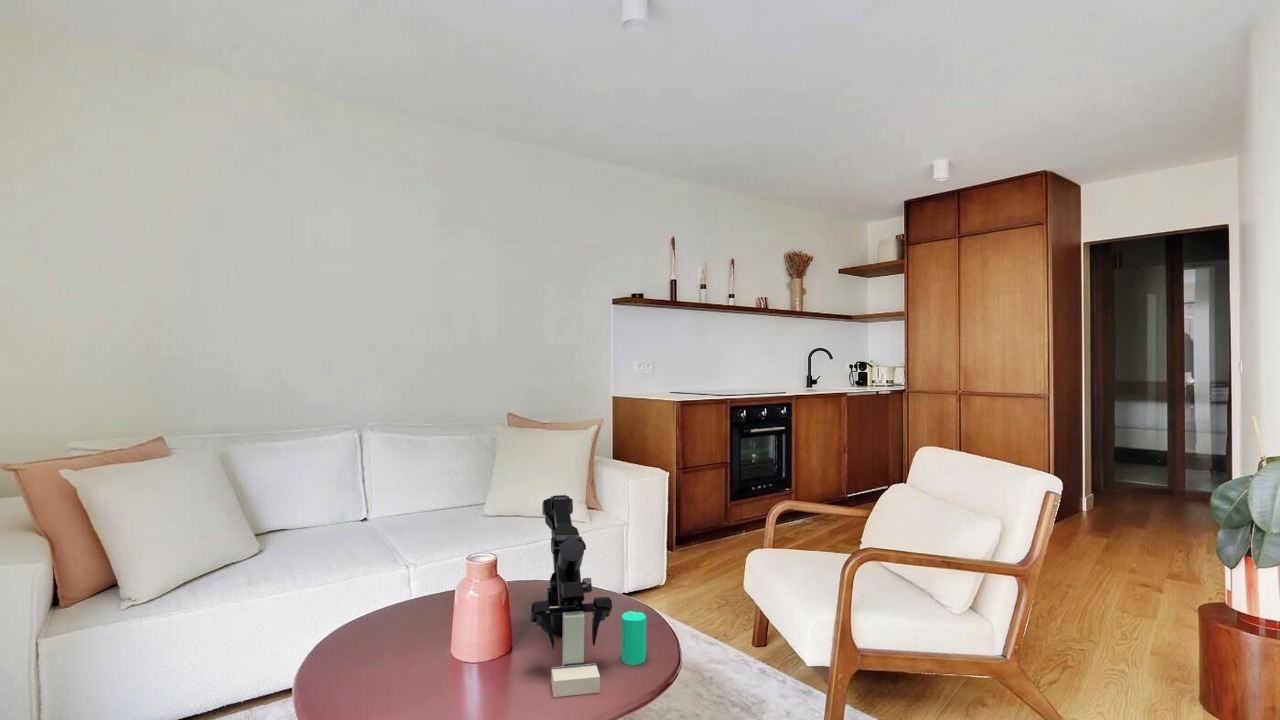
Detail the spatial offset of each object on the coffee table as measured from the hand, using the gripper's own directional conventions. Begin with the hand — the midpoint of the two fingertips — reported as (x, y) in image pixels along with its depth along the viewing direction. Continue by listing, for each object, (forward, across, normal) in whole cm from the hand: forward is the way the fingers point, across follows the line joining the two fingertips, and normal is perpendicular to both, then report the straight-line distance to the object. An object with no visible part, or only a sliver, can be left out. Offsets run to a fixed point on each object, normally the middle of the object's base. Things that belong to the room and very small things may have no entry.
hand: (573, 646), depth 146 cm
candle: (0, +15, +10) cm, 19 cm away
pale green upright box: (+4, 0, +6) cm, 8 cm away
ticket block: (+8, 0, +3) cm, 8 cm away
